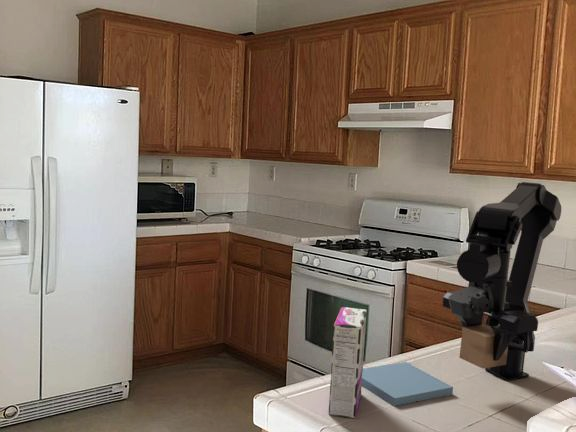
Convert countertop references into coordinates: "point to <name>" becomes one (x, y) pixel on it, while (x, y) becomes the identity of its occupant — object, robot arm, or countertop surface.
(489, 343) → the walnut cube
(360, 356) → the candy bar box
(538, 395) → the countertop surface
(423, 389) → the slate board
